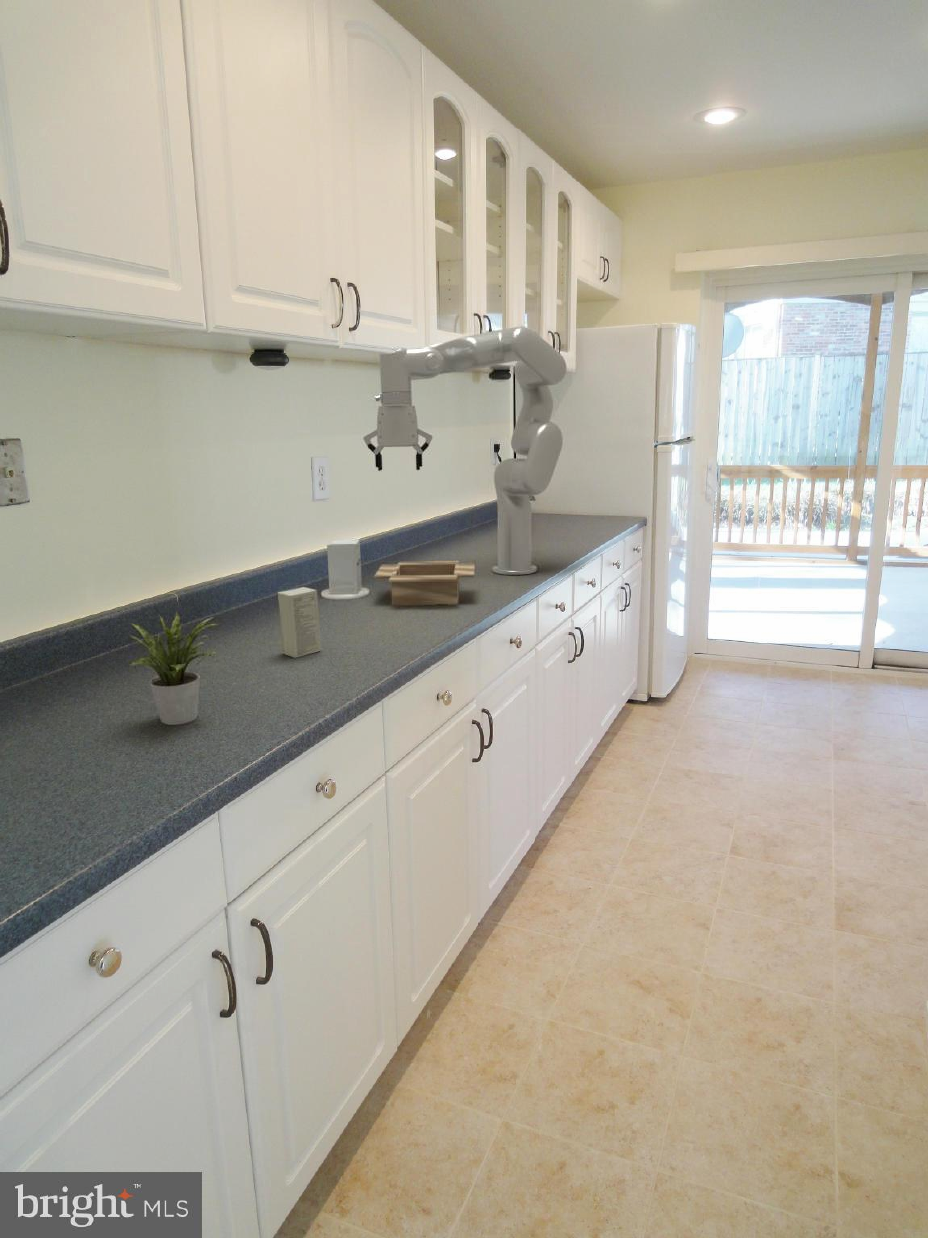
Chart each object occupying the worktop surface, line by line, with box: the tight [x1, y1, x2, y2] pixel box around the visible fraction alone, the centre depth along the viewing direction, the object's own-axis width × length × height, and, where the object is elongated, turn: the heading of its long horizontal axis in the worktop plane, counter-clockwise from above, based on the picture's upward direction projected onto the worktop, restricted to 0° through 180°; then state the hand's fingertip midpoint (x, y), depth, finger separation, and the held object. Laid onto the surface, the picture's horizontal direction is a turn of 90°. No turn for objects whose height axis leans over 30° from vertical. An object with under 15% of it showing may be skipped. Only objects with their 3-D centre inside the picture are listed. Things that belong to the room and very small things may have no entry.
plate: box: [320, 586, 370, 601], centre depth 205 cm, size 12×12×1 cm
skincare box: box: [277, 586, 322, 659], centre depth 153 cm, size 6×4×12 cm
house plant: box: [129, 610, 219, 726], centre depth 119 cm, size 14×14×16 cm
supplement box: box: [326, 539, 363, 594], centre depth 204 cm, size 7×7×13 cm
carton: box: [373, 560, 476, 606], centre depth 199 cm, size 24×24×7 cm
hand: (399, 470), depth 205 cm, fingers open, 9 cm apart
